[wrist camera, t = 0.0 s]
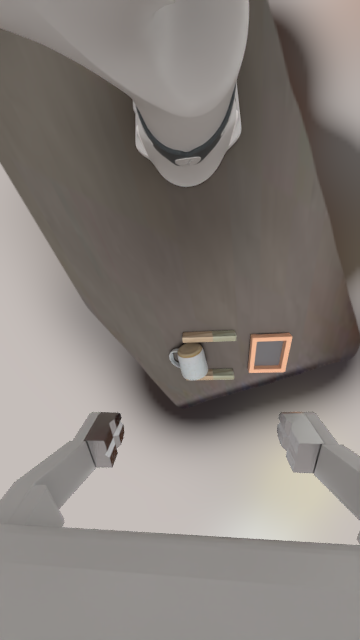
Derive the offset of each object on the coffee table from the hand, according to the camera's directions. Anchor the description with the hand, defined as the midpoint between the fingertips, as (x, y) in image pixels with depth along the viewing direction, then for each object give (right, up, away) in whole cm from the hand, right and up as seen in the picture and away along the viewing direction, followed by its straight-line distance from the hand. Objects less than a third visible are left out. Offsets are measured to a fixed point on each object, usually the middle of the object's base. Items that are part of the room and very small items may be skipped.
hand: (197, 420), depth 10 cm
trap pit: (+24, -4, +44) cm, 50 cm away
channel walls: (+8, -5, +45) cm, 46 cm away
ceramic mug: (+2, -5, +46) cm, 46 cm away
